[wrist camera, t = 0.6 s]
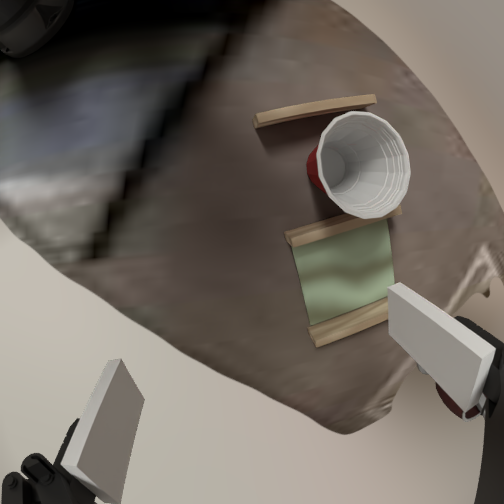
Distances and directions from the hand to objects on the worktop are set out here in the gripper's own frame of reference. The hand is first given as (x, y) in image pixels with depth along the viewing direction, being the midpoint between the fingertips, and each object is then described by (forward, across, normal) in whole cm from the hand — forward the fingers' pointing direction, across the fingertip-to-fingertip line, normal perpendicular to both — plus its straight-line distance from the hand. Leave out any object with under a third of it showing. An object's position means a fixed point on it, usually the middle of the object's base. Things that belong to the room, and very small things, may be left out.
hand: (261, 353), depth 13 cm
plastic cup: (+26, +14, +6) cm, 30 cm away
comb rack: (+26, +15, -1) cm, 30 cm away
